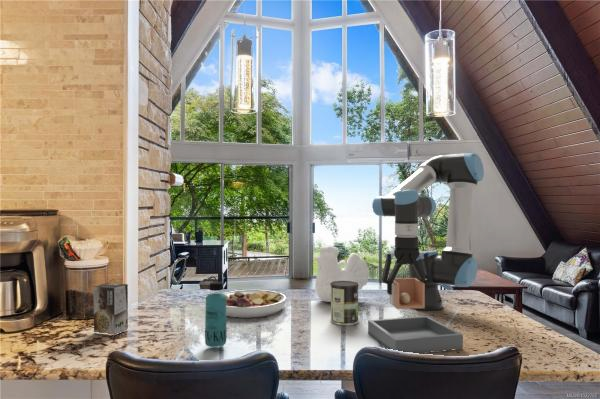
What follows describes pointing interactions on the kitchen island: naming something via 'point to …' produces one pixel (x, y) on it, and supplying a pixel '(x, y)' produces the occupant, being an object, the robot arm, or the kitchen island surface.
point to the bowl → (253, 303)
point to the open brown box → (413, 289)
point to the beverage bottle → (215, 316)
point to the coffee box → (110, 308)
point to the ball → (405, 298)
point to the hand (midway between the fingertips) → (406, 303)
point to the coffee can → (344, 302)
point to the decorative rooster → (338, 271)
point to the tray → (414, 334)
